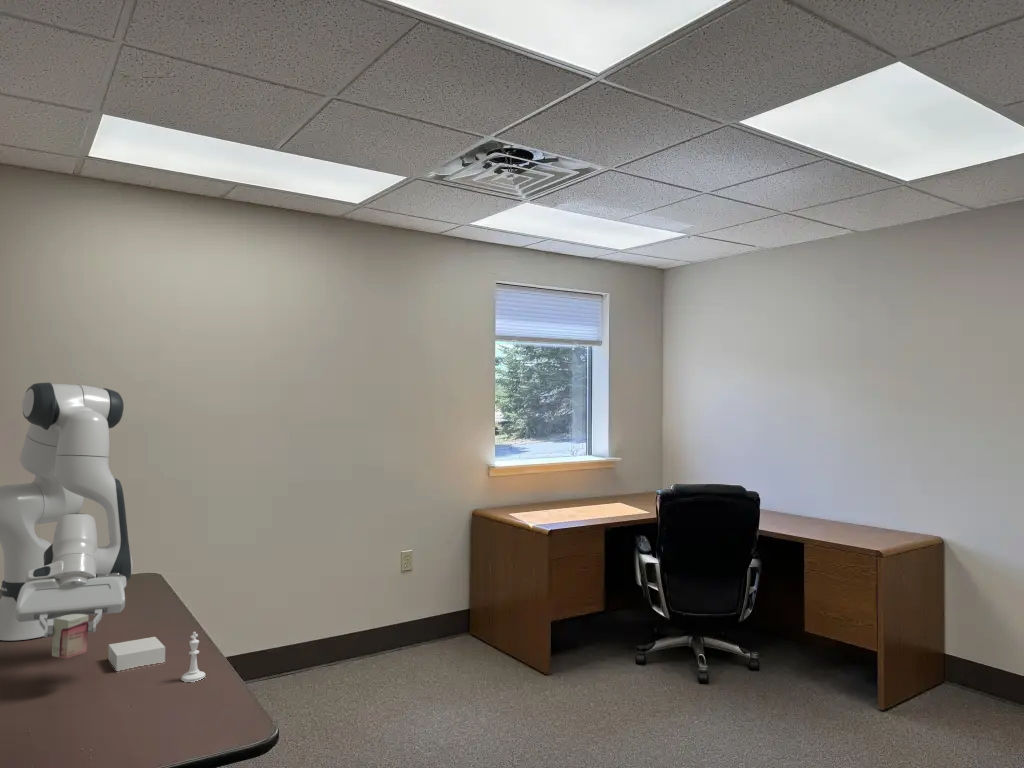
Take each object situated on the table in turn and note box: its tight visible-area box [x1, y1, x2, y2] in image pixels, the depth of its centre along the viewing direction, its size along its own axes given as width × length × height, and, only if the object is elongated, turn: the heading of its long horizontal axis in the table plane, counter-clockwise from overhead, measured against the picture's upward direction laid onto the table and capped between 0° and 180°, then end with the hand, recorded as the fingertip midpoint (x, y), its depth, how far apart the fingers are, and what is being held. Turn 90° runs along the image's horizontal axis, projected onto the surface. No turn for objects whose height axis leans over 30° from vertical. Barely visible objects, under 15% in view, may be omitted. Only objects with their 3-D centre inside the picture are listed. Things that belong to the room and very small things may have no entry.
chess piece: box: [180, 631, 206, 683], centre depth 161 cm, size 5×5×10 cm
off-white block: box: [107, 636, 166, 672], centre depth 171 cm, size 10×10×4 cm
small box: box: [51, 613, 90, 659], centre depth 154 cm, size 5×4×8 cm
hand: (70, 633), depth 154 cm, fingers closed on small box, 6 cm apart
